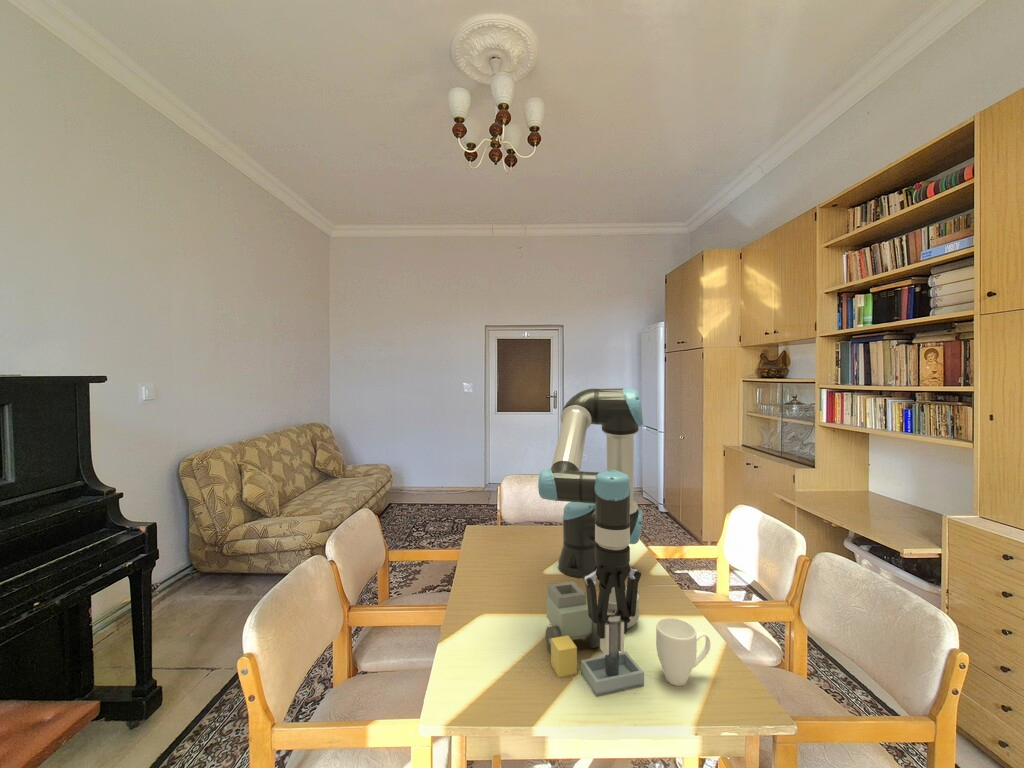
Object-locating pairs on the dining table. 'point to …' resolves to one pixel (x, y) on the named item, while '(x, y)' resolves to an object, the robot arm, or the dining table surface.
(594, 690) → the tray
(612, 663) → the flashlight
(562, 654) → the block
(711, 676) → the dining table surface
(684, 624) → the mug
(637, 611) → the teacup
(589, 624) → the trolley
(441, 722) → the dining table surface
